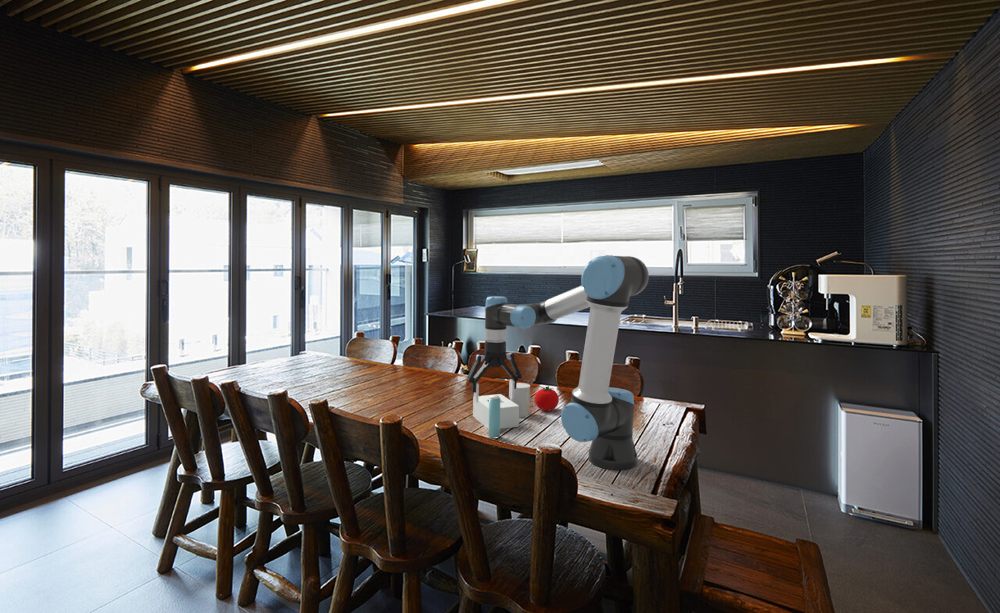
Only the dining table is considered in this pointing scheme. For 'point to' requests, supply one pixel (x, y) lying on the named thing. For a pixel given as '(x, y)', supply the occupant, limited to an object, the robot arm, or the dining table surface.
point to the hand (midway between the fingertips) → (494, 399)
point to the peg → (494, 416)
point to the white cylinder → (522, 399)
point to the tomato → (546, 399)
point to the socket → (507, 411)
